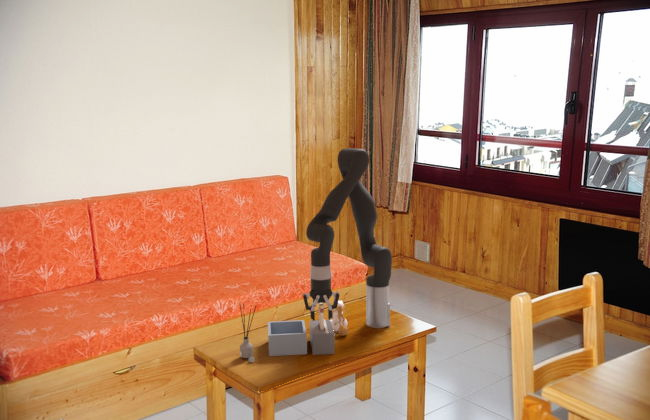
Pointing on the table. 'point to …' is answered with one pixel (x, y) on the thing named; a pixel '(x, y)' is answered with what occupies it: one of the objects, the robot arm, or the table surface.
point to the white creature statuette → (335, 318)
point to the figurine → (342, 329)
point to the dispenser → (321, 338)
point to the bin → (287, 338)
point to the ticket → (321, 316)
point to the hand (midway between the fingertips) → (321, 319)
